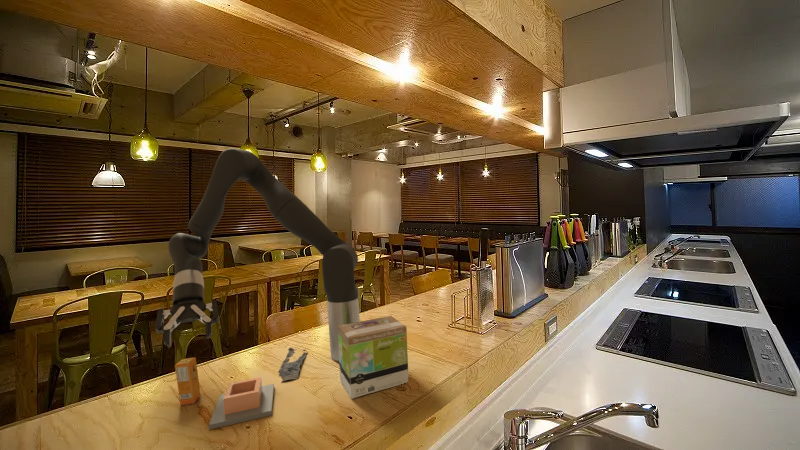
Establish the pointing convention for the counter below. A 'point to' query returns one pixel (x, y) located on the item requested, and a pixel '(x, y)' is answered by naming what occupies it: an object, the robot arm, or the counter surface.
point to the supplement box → (187, 381)
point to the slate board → (264, 410)
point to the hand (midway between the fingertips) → (188, 341)
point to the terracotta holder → (243, 395)
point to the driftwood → (290, 366)
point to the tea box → (372, 355)
